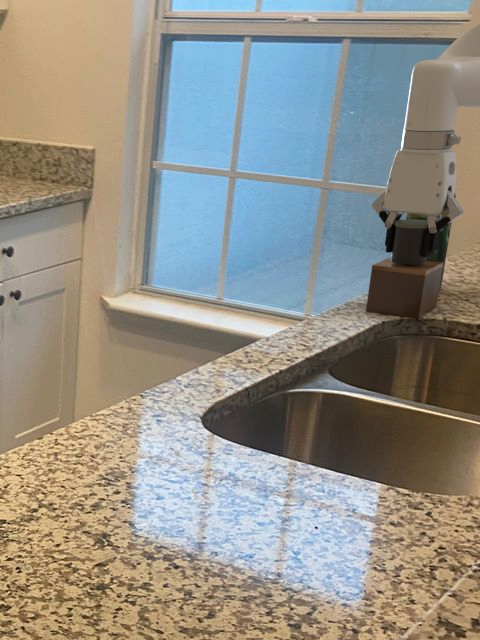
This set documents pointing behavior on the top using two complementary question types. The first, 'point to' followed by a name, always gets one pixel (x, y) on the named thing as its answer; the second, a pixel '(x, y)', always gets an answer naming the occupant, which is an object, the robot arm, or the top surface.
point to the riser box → (404, 288)
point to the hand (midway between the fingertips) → (409, 252)
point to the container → (409, 241)
